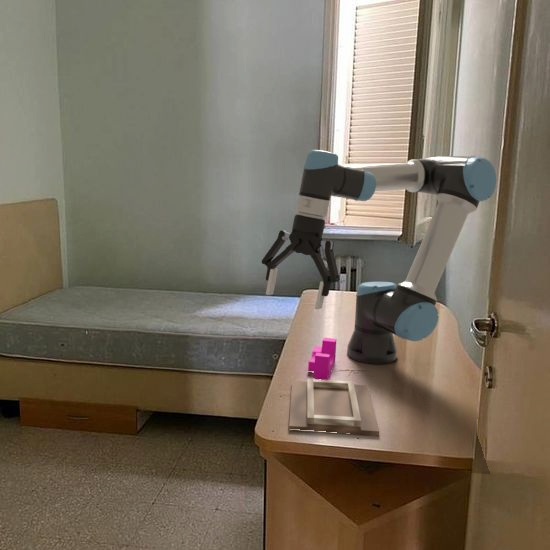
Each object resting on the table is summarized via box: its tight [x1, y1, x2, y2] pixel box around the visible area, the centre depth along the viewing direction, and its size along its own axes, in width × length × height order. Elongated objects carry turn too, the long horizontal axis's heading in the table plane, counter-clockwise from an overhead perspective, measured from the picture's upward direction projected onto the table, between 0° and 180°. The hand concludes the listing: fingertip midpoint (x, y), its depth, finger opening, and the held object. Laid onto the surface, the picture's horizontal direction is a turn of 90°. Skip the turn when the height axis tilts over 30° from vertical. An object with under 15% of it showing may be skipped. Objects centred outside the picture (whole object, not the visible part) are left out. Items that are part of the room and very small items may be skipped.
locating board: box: [288, 378, 380, 436], centre depth 131 cm, size 20×24×3 cm
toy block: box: [307, 337, 337, 380], centre depth 153 cm, size 15×6×8 cm, turn 166°
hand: (293, 301), depth 132 cm, fingers open, 13 cm apart
